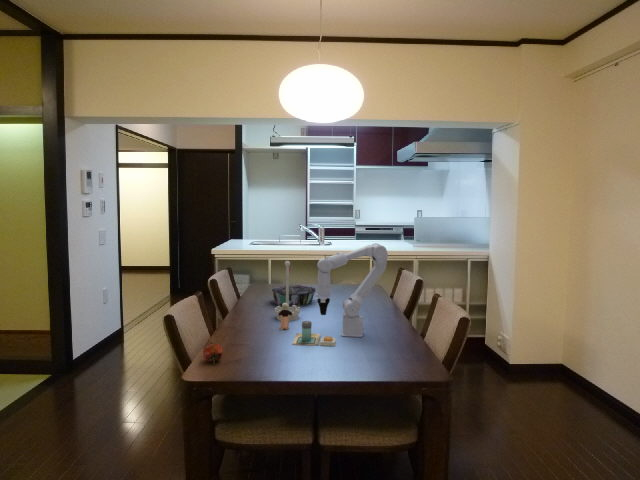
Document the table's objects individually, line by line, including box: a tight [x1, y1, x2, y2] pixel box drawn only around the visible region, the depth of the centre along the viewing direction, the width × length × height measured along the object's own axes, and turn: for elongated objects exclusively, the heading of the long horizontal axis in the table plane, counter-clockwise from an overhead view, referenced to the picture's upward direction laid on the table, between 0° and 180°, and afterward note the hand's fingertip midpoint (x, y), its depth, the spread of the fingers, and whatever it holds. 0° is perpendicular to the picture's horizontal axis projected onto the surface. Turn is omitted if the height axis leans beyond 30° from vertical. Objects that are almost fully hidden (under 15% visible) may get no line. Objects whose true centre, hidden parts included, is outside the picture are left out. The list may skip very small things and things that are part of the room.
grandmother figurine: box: [276, 303, 294, 331], centre depth 205 cm, size 8×4×13 cm, turn 105°
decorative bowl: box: [270, 285, 317, 307], centre depth 257 cm, size 26×28×10 cm
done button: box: [323, 335, 333, 342], centre depth 185 cm, size 3×3×2 cm
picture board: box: [291, 332, 322, 347], centre depth 189 cm, size 11×14×1 cm
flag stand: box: [274, 260, 301, 322], centre depth 223 cm, size 13×13×30 cm
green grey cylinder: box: [301, 320, 313, 342], centre depth 186 cm, size 4×4×8 cm
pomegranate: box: [202, 341, 224, 366], centre depth 163 cm, size 7×7×10 cm
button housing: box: [319, 336, 336, 347], centre depth 185 cm, size 6×6×2 cm
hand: (323, 314), depth 196 cm, fingers closed
